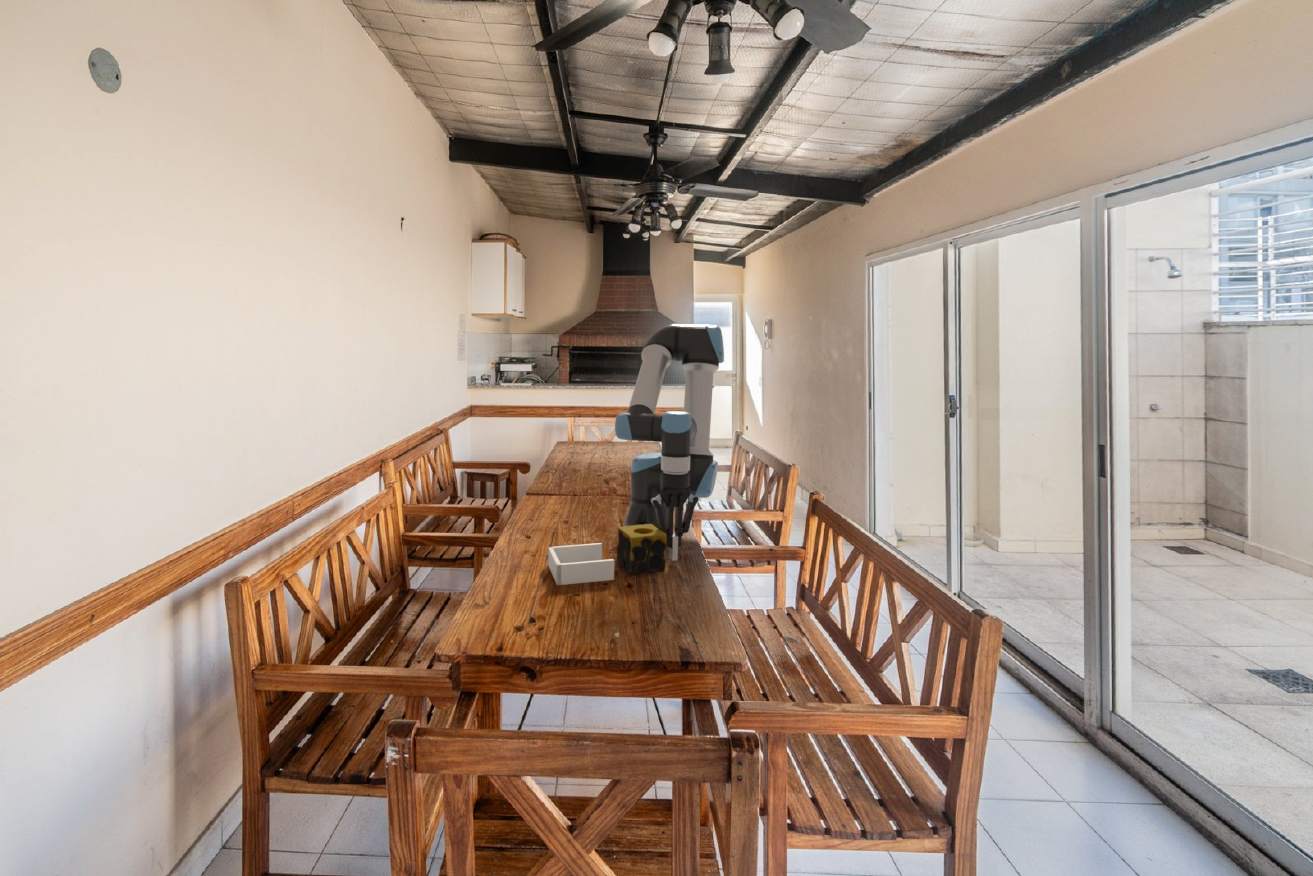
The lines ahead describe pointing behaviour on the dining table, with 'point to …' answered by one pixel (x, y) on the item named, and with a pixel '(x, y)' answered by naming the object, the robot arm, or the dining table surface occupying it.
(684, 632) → the dining table surface
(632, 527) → the candle
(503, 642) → the dining table surface
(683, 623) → the dining table surface
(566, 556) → the frame
